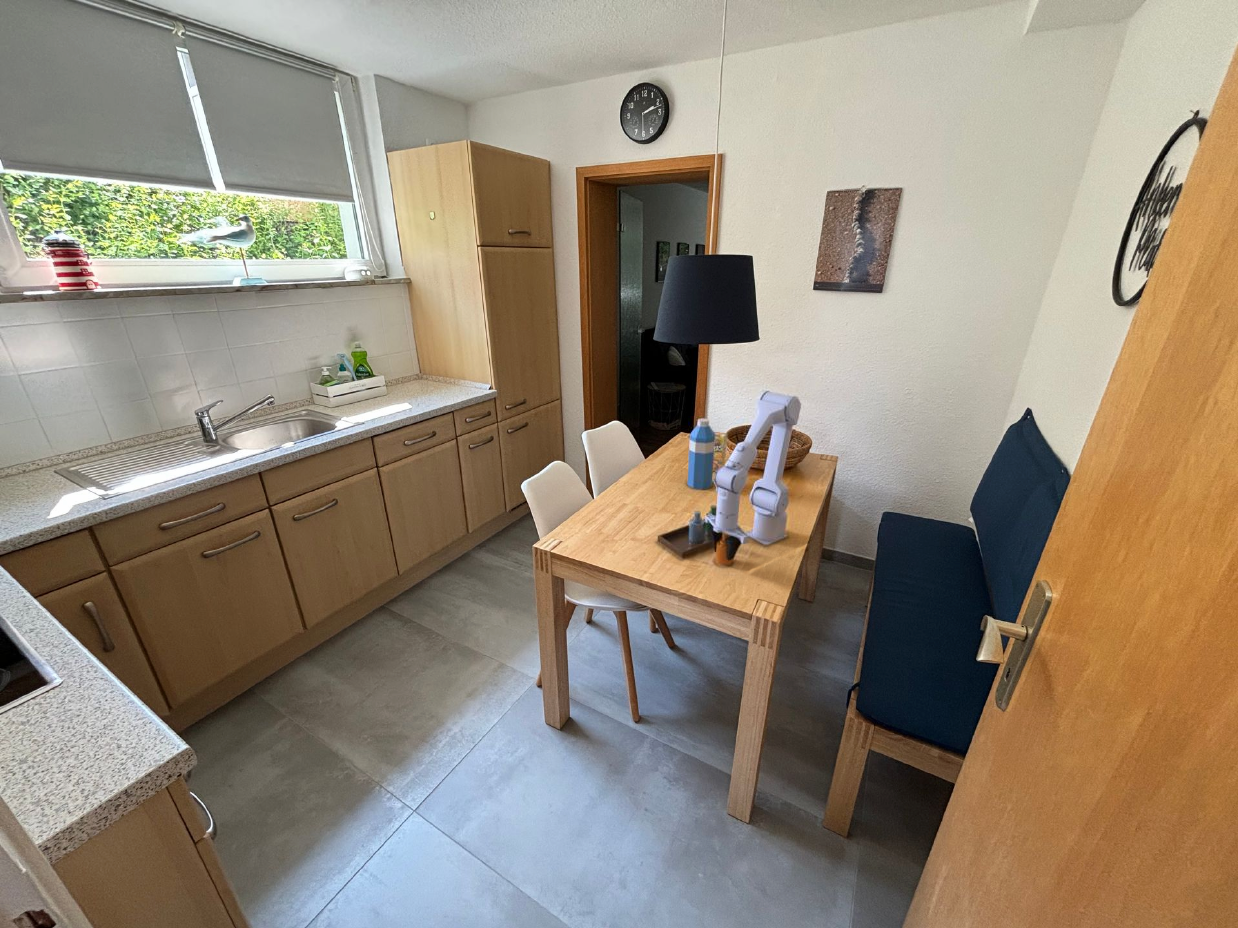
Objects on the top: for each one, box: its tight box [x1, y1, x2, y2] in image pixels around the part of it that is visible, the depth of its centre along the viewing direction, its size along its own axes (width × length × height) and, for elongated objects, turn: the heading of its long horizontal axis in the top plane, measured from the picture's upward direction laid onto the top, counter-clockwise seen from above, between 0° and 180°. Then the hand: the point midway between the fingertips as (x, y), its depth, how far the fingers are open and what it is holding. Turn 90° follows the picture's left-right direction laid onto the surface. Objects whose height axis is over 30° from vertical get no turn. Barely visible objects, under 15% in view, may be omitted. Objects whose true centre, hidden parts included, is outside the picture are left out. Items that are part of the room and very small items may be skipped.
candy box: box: [713, 431, 728, 473], centre depth 196 cm, size 9×4×15 cm, turn 62°
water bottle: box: [687, 417, 715, 490], centre depth 181 cm, size 9×9×25 cm
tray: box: [657, 518, 731, 559], centre depth 148 cm, size 20×11×2 cm, turn 123°
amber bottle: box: [715, 533, 733, 566], centre depth 135 cm, size 4×4×9 cm
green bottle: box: [705, 504, 717, 536], centre depth 149 cm, size 4×4×9 cm
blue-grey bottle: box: [688, 510, 705, 543], centre depth 146 cm, size 4×4×9 cm
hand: (724, 554), depth 136 cm, fingers closed on amber bottle, 4 cm apart
